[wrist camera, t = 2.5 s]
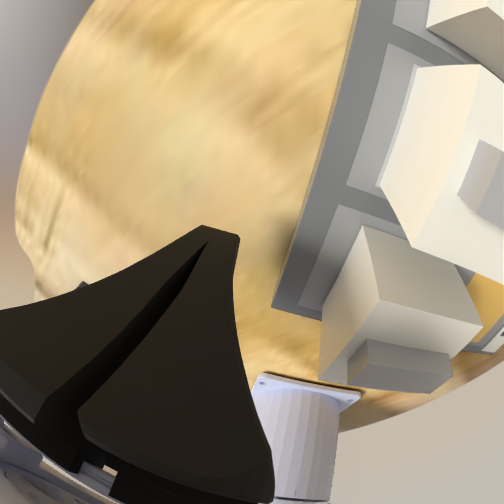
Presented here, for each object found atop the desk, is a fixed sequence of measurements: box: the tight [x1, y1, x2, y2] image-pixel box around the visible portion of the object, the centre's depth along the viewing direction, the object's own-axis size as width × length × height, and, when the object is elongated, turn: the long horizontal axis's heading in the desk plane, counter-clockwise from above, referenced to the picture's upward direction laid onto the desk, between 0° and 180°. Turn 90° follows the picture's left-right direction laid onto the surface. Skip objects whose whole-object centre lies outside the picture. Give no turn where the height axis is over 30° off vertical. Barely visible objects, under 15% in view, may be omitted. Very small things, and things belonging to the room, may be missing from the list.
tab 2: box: [379, 64, 504, 285], centre depth 4 cm, size 4×4×4 cm
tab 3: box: [318, 225, 483, 394], centre depth 8 cm, size 4×4×4 cm
